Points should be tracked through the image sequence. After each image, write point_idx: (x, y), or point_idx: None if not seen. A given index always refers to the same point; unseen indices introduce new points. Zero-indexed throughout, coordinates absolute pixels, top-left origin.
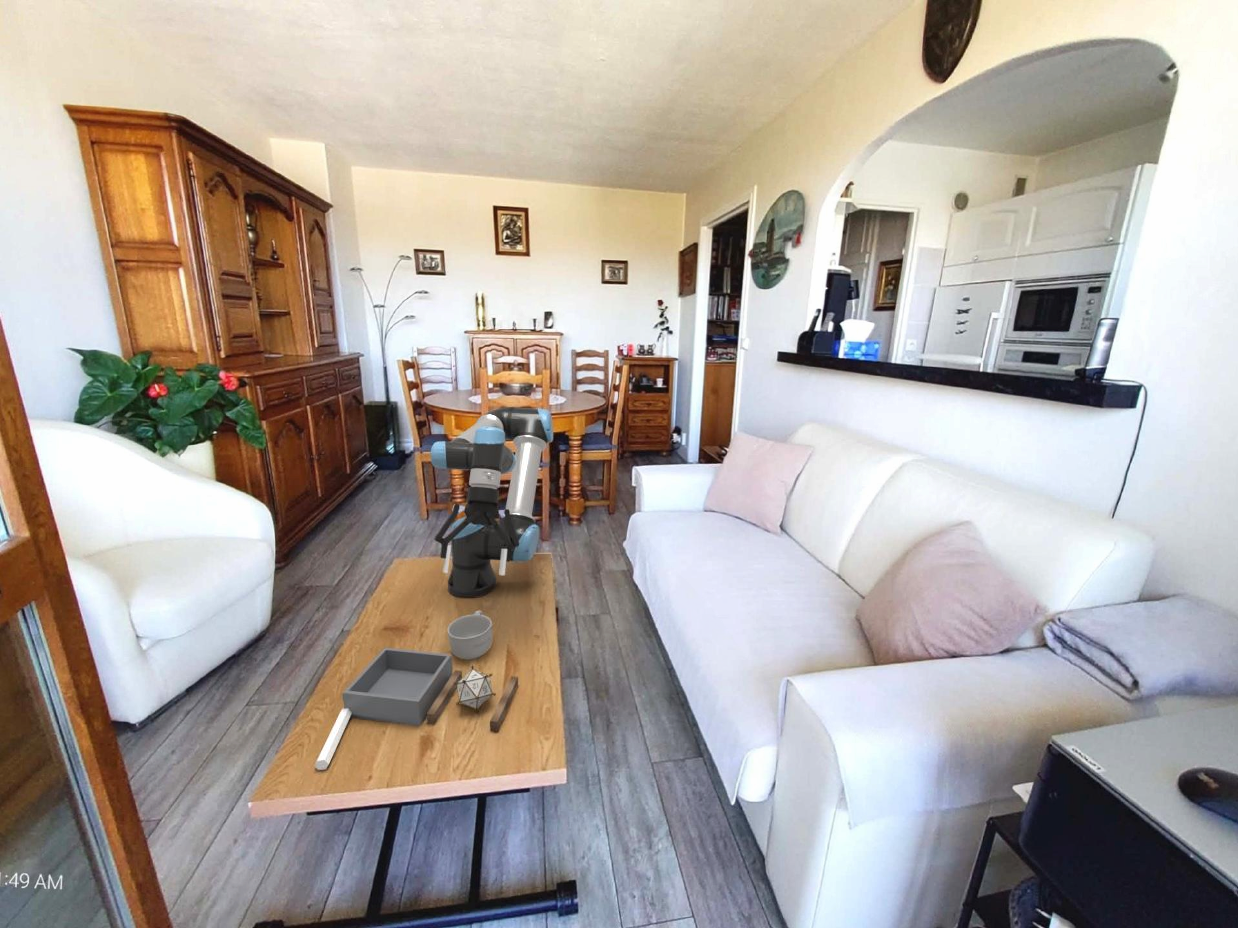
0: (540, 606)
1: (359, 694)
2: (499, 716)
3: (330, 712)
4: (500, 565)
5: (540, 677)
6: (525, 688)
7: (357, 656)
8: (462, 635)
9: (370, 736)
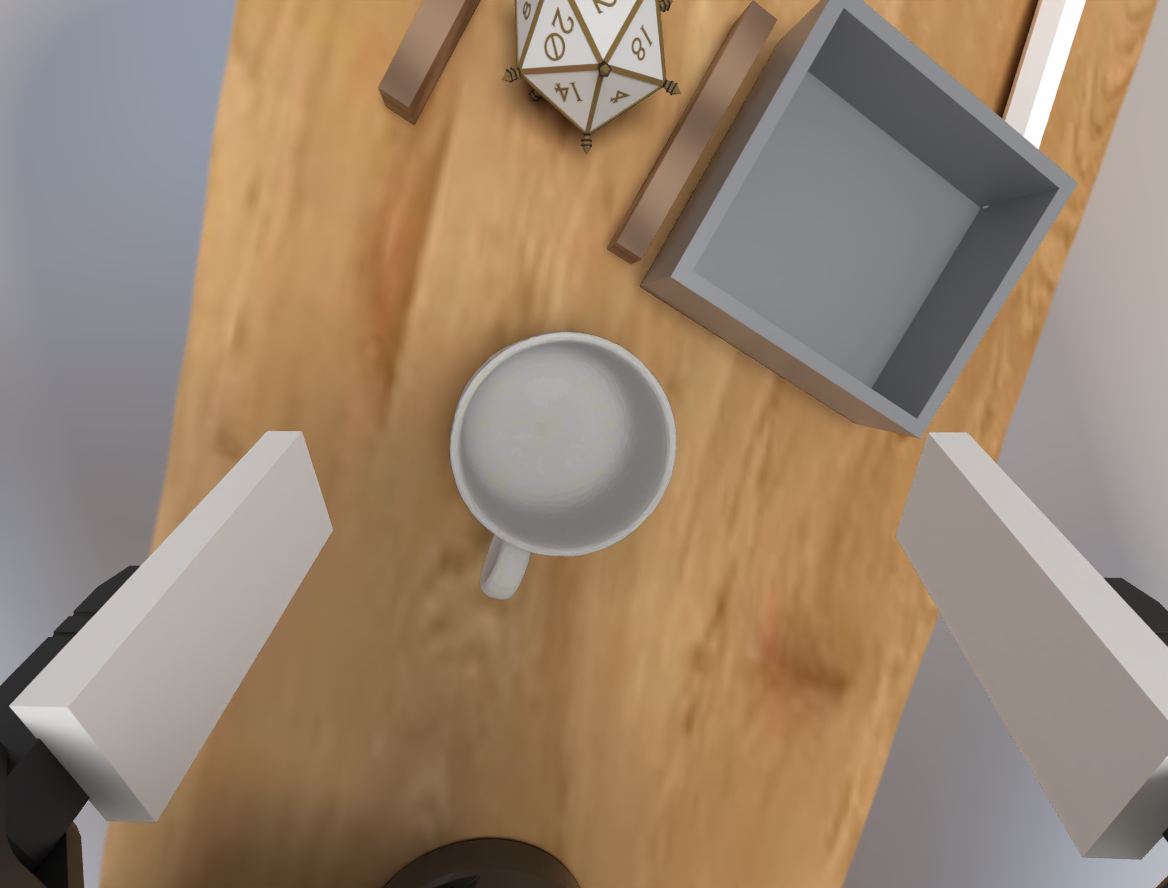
0: None
1: (1028, 143)
2: None
3: None
4: (279, 581)
5: (271, 122)
6: (356, 75)
7: None
8: (580, 507)
9: None
